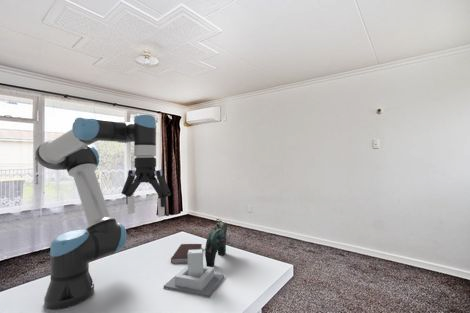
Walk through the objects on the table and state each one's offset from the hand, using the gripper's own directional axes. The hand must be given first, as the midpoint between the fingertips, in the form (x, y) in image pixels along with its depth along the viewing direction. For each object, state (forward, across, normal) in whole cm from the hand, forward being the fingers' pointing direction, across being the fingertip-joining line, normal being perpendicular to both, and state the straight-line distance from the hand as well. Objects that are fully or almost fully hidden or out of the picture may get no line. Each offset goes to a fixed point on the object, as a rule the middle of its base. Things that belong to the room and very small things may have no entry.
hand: (145, 214), depth 85 cm
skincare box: (+30, -12, -15) cm, 36 cm away
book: (+31, +5, -38) cm, 50 cm away
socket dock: (+31, -12, -15) cm, 36 cm away
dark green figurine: (+31, -12, -38) cm, 50 cm away
